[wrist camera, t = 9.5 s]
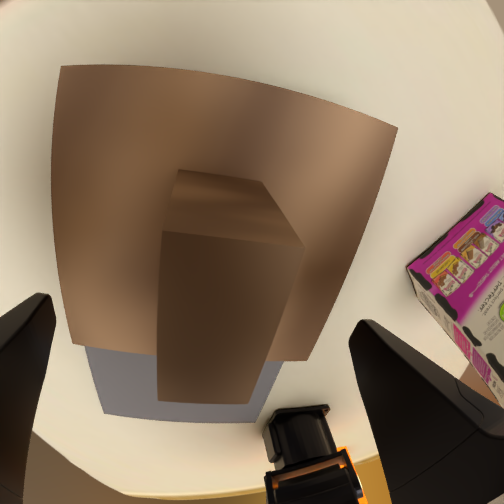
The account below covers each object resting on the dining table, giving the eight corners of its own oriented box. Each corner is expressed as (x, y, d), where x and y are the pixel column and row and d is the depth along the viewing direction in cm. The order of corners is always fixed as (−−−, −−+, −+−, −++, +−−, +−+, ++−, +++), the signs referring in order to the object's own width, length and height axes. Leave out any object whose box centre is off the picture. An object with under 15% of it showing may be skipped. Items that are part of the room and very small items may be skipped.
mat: (302, 309, 21) (304, 313, 21) (254, 419, 29) (255, 422, 28) (76, 288, 17) (74, 292, 17) (104, 410, 25) (104, 413, 24)
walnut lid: (387, 124, 11) (490, 160, 6) (303, 350, 17) (334, 433, 12) (69, 67, 8) (-27, 60, 3) (76, 333, 14) (49, 422, 9)
